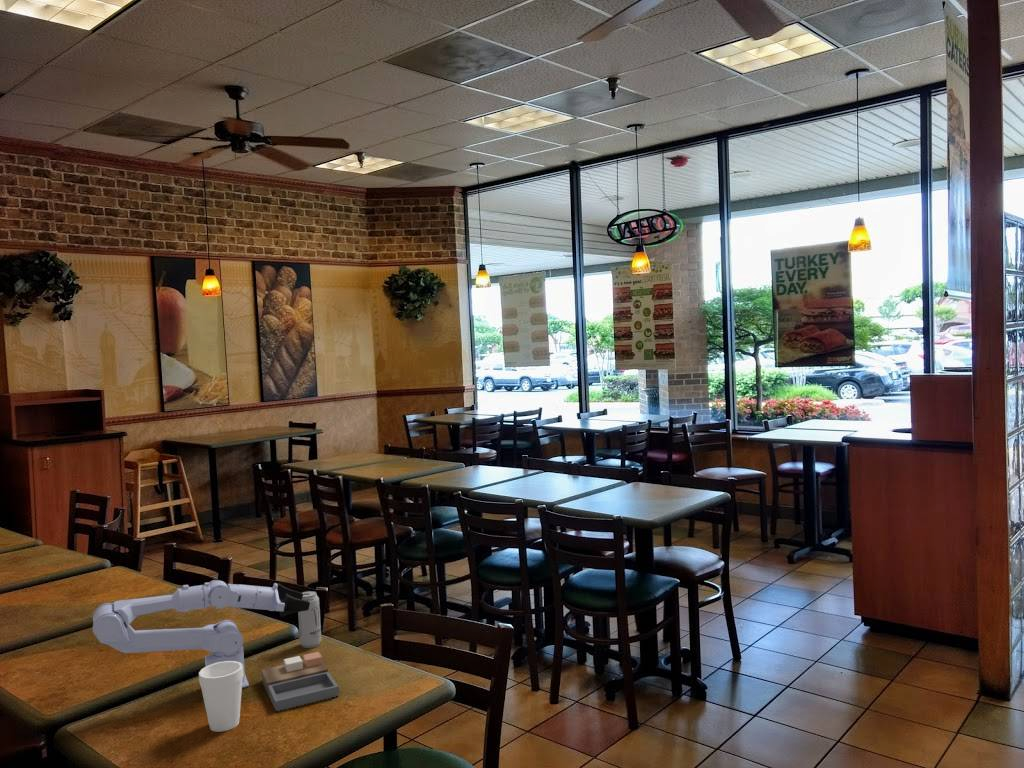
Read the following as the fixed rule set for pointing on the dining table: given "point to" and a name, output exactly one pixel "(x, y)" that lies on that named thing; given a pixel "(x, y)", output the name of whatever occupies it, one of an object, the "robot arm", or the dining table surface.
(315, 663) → the tile
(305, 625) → the energy drink can
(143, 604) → the robot arm
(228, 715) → the foam cup
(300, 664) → the tile
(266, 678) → the board
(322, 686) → the box
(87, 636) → the dining table surface
